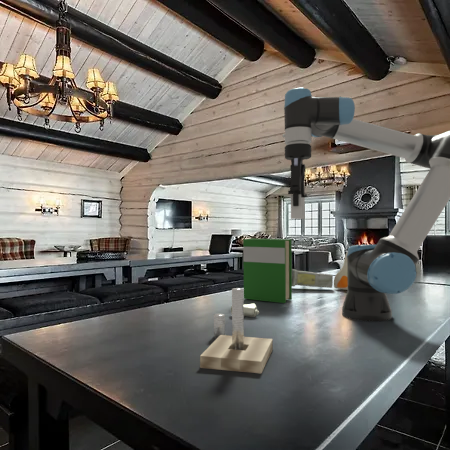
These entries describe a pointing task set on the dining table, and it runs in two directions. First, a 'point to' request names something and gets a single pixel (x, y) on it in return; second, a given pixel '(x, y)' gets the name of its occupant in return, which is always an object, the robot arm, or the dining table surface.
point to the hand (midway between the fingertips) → (298, 219)
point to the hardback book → (267, 269)
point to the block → (311, 279)
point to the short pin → (219, 325)
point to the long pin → (237, 319)
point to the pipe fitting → (249, 310)
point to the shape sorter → (342, 277)
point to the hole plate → (237, 355)
